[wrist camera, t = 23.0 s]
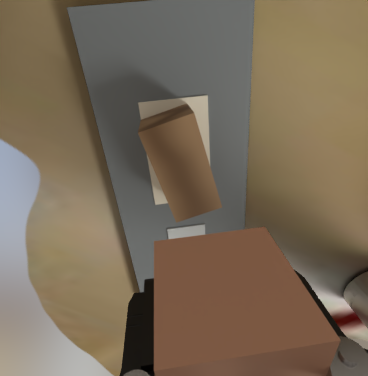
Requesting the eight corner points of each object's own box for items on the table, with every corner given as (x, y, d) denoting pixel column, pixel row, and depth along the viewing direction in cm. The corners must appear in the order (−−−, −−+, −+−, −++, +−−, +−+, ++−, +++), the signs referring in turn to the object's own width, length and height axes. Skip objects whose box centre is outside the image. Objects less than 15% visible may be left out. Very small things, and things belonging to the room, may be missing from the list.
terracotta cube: (264, 226, 11) (340, 340, 6) (257, 299, 13) (308, 419, 9) (154, 241, 10) (154, 370, 6) (166, 313, 13) (172, 444, 8)
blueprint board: (248, -5, 22) (256, -10, 20) (239, 281, 40) (242, 290, 39) (72, 10, 21) (65, 6, 20) (143, 295, 39) (142, 305, 38)
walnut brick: (187, 103, 24) (194, 112, 20) (212, 185, 29) (222, 207, 25) (140, 119, 25) (137, 132, 20) (173, 198, 29) (176, 222, 25)
